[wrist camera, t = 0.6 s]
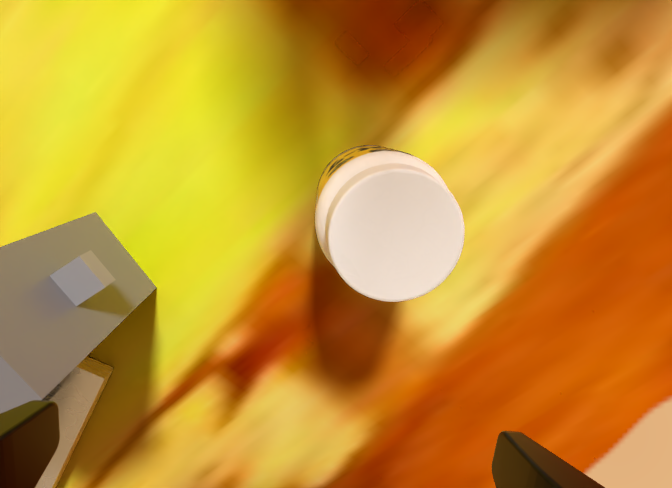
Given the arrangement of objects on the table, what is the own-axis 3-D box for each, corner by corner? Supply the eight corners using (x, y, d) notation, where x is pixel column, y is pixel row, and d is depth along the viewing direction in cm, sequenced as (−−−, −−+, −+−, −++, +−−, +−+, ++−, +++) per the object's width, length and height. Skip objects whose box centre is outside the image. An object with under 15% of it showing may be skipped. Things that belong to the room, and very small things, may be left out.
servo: (178, 273, 21) (46, 409, 11) (64, 346, 21) (-162, 539, 11) (118, 196, 20) (-93, 266, 10) (0, 276, 20) (-313, 421, 10)
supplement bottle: (409, 136, 20) (475, 140, 11) (420, 234, 21) (487, 300, 13) (307, 154, 20) (300, 170, 11) (324, 250, 21) (329, 328, 13)
